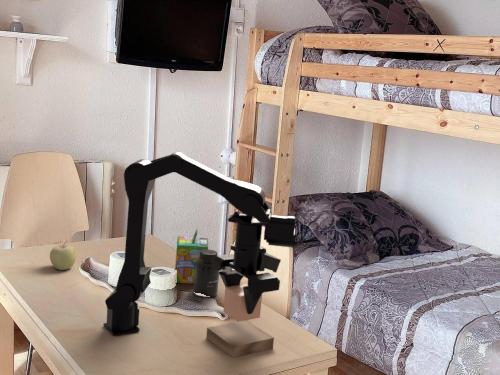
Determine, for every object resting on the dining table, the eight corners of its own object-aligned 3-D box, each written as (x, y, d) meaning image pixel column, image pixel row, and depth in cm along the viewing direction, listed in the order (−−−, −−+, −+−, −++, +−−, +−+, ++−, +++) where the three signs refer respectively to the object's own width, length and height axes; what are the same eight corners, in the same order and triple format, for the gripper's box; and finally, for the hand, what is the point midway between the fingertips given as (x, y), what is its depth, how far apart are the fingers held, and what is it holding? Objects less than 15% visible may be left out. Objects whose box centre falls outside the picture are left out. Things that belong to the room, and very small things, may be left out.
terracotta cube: (237, 321, 141) (240, 296, 140) (223, 312, 146) (225, 287, 145) (259, 317, 145) (262, 292, 144) (244, 308, 150) (247, 283, 148)
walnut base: (232, 357, 139) (233, 346, 139) (206, 337, 148) (207, 327, 147) (272, 347, 145) (273, 337, 145) (245, 329, 154) (246, 319, 154)
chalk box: (174, 273, 190) (177, 225, 188) (205, 274, 191) (208, 226, 189) (173, 283, 181) (176, 233, 179) (205, 285, 182) (209, 235, 180)
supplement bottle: (214, 299, 172) (217, 257, 169) (189, 296, 173) (192, 253, 171) (220, 291, 178) (223, 250, 176) (196, 287, 180) (199, 246, 177)
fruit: (81, 268, 188) (82, 242, 186) (61, 274, 182) (62, 247, 180) (63, 262, 192) (64, 236, 190) (43, 267, 185) (44, 241, 184)
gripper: (302, 250, 139) (295, 318, 142) (253, 228, 154) (247, 290, 157) (261, 256, 133) (254, 326, 136) (213, 232, 148) (208, 296, 151)
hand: (241, 308), depth 145 cm, fingers closed on terracotta cube, 6 cm apart
